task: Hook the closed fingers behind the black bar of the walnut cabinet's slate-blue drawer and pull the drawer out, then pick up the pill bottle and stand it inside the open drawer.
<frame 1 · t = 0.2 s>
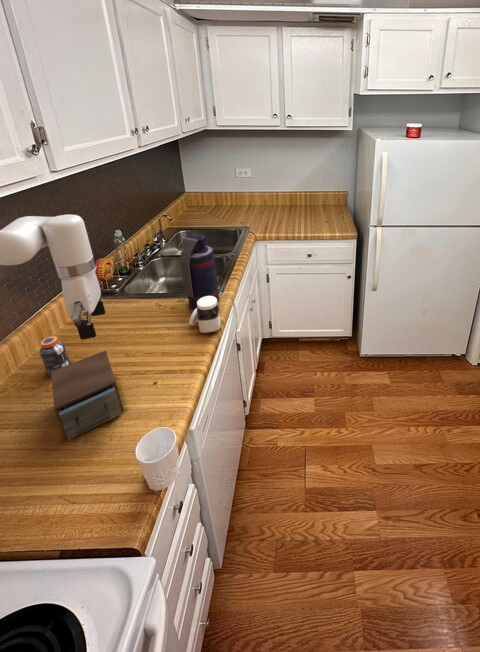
hand: (94, 325, 85), 24 cm above the counter, tool pointing down, fingers open, 9 cm apart
pill bottle: (59, 369, 103), on the counter
navy water bottle: (203, 305, 135), on the counter
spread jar: (205, 327, 122), on the counter
white cup: (163, 475, 74), on the counter
drawer: (90, 402, 86), point 5 cm above the counter, slide at 0.5 cm
cabinet: (92, 405, 91), on the counter
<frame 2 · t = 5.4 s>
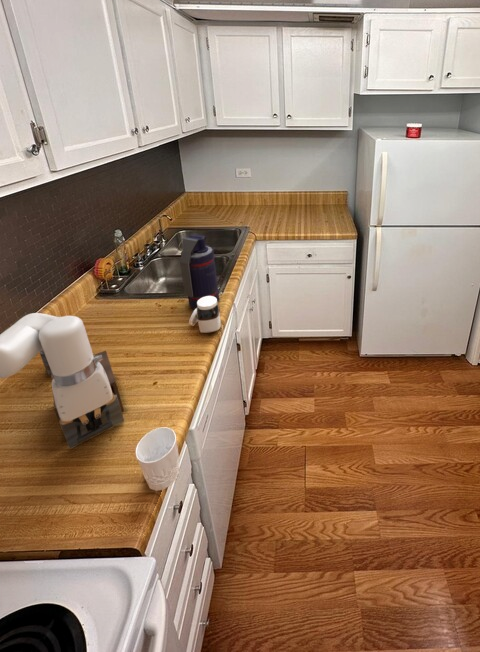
hand: (95, 428, 79), 5 cm above the counter, tool pointing down, fingers closed
drawer: (91, 410, 83), point 5 cm above the counter, slide at 3.4 cm, touching gripper
everything else where it was.
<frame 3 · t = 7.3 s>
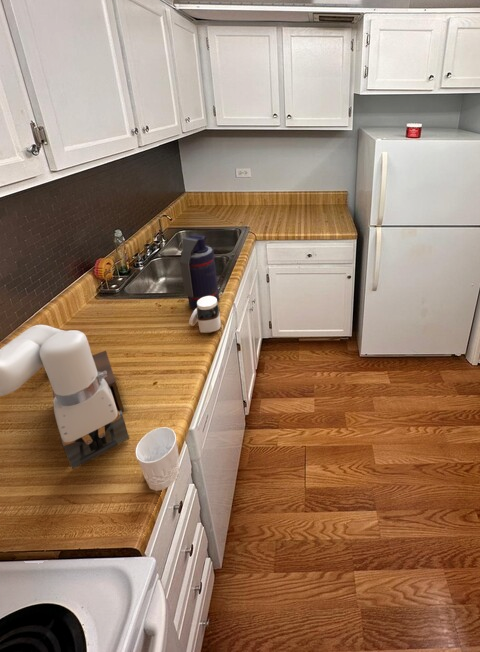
hand: (99, 448, 75), 5 cm above the counter, tool pointing down, fingers closed
drawer: (95, 427, 79), point 5 cm above the counter, slide at 9.3 cm, touching gripper
everything else where it was.
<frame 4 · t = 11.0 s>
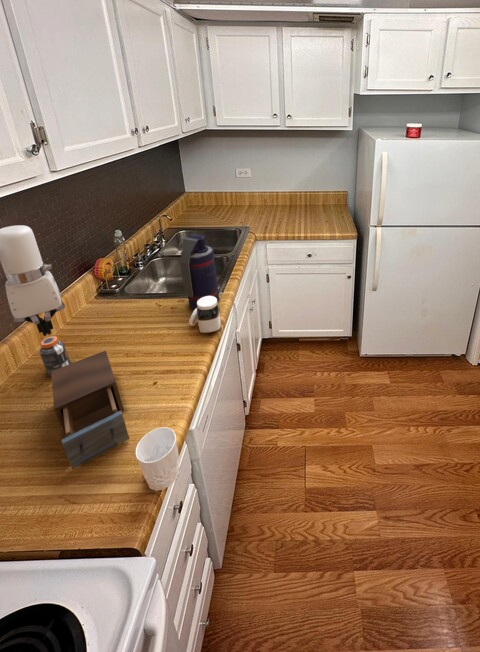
hand: (47, 332, 91), 19 cm above the counter, tool pointing down, fingers closed
drawer: (95, 427, 79), point 5 cm above the counter, slide at 9.3 cm
everything else where it was.
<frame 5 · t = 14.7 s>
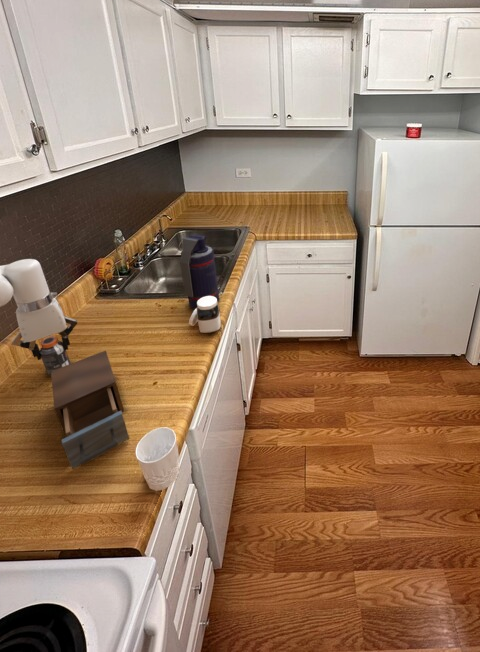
hand: (53, 351, 100), 7 cm above the counter, tool pointing down, fingers closed on pill bottle, 6 cm apart
pill bottle: (59, 369, 103), on the counter, touching gripper
everything else where it was.
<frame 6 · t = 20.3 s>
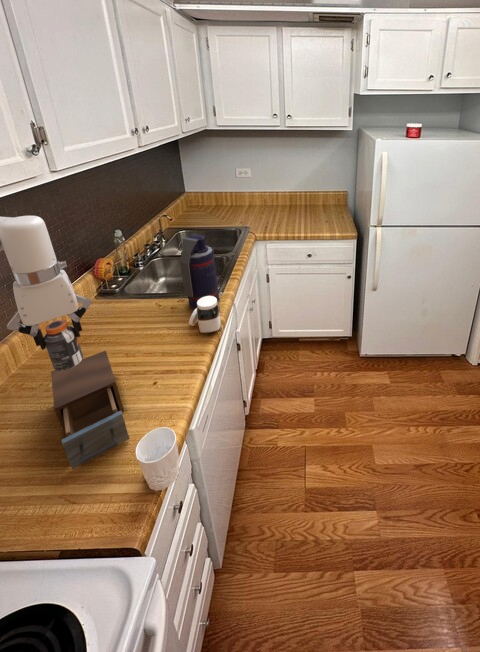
hand: (61, 339, 78), 26 cm above the counter, tool pointing down, fingers closed on pill bottle, 6 cm apart
pill bottle: (69, 363, 81), point 18 cm above the counter, touching gripper
everything else where it was.
when the fingers open (9 cm above the counter, at t = 26.2 s): pill bottle stays where it is, resting on drawer.
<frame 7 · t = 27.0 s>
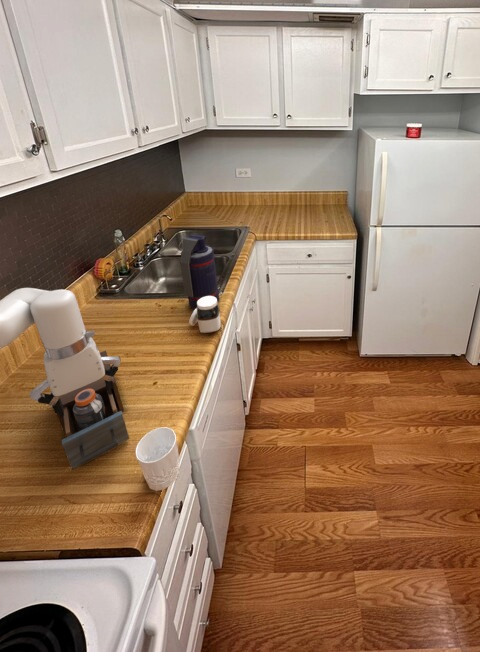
hand: (86, 401, 79), 11 cm above the counter, tool pointing down, fingers open, 9 cm apart
pill bottle: (96, 429, 82), point 2 cm above the counter, touching drawer
drawer: (95, 427, 79), point 5 cm above the counter, slide at 9.4 cm, touching pill bottle
everything else where it was.
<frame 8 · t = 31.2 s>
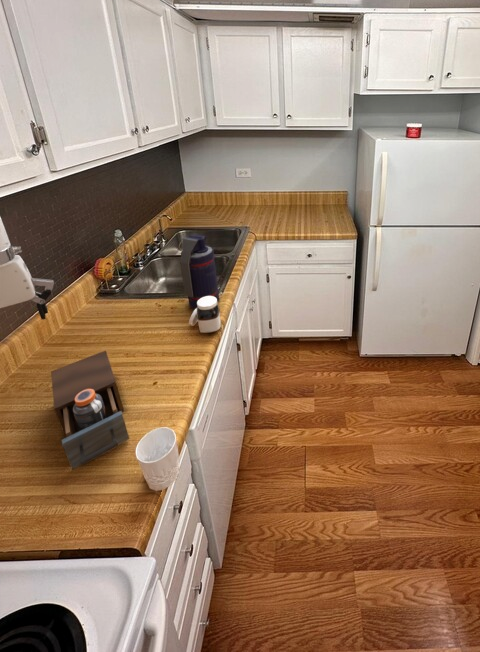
hand: (17, 324, 75), 30 cm above the counter, tool pointing down, fingers open, 9 cm apart
nothing on the counter moved.
at the end: drawer slide at 9.4 cm; pill bottle inside the target area in the drawer (0.7 cm from its centre), point 1.9 cm above the cabinet's base; pill bottle tilted 0° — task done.
